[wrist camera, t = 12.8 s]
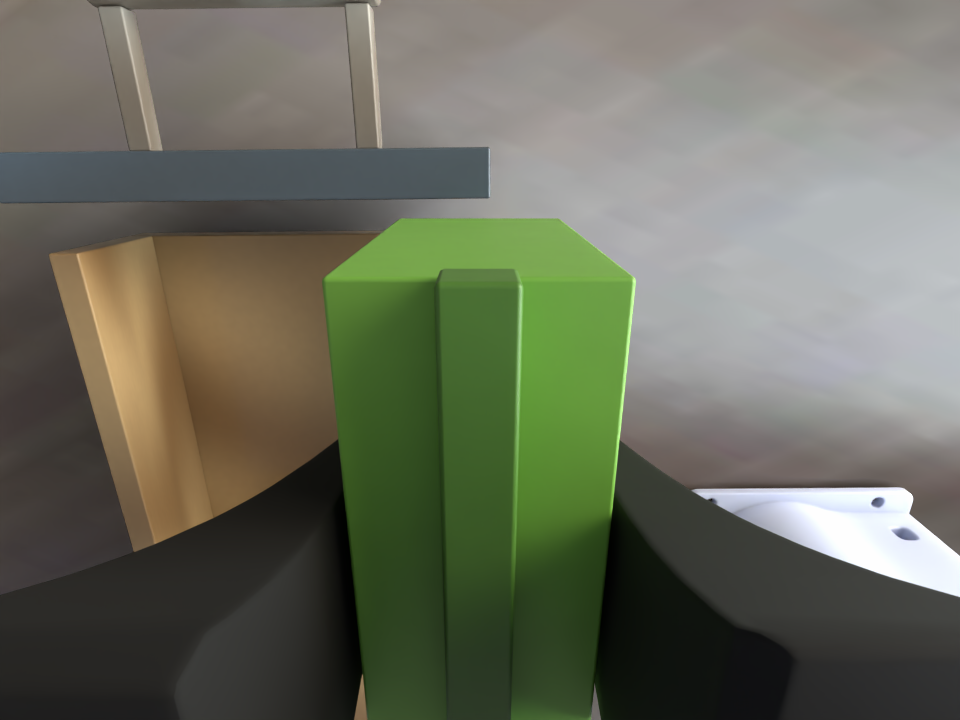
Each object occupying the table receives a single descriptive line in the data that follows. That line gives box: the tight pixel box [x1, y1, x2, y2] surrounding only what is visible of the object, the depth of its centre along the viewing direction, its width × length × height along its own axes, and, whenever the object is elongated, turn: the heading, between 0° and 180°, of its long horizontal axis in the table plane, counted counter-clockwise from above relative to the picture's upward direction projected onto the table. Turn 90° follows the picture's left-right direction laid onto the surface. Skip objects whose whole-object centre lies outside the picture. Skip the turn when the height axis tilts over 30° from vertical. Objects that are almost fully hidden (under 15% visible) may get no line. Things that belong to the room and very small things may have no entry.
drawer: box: [0, 0, 490, 552], centre depth 18 cm, size 22×12×5 cm, turn 1°
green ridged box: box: [322, 219, 636, 720], centre depth 9 cm, size 3×9×6 cm, turn 0°
